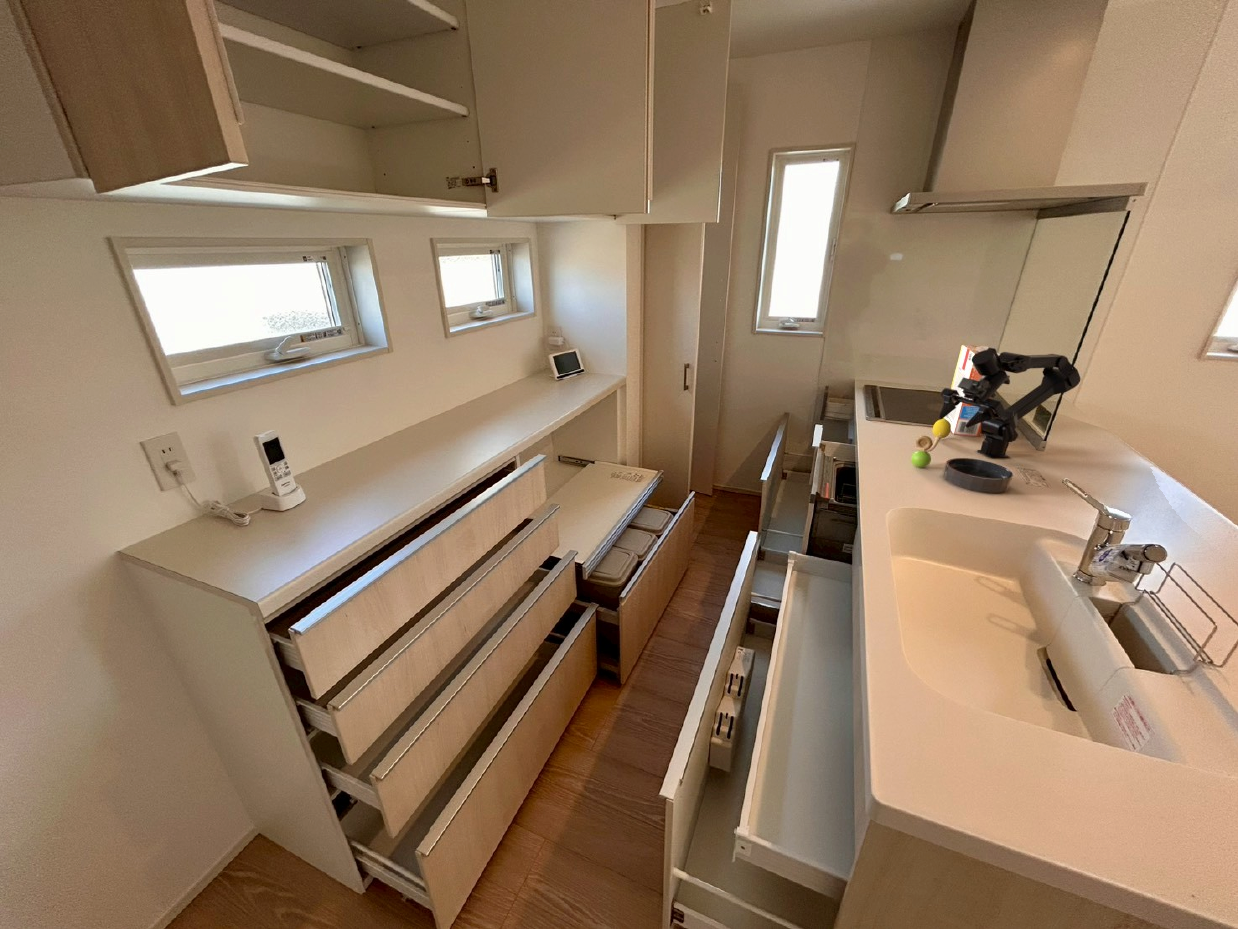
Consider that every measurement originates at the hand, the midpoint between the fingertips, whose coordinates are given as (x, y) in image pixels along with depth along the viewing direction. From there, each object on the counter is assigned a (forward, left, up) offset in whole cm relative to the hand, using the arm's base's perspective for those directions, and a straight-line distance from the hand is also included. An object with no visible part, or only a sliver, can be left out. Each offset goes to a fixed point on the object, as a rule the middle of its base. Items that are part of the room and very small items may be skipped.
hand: (952, 422), depth 157 cm
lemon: (-13, -21, -14) cm, 29 cm away
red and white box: (-31, -35, -14) cm, 49 cm away
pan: (+1, +16, -14) cm, 21 cm away
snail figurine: (+9, +4, -14) cm, 17 cm away
